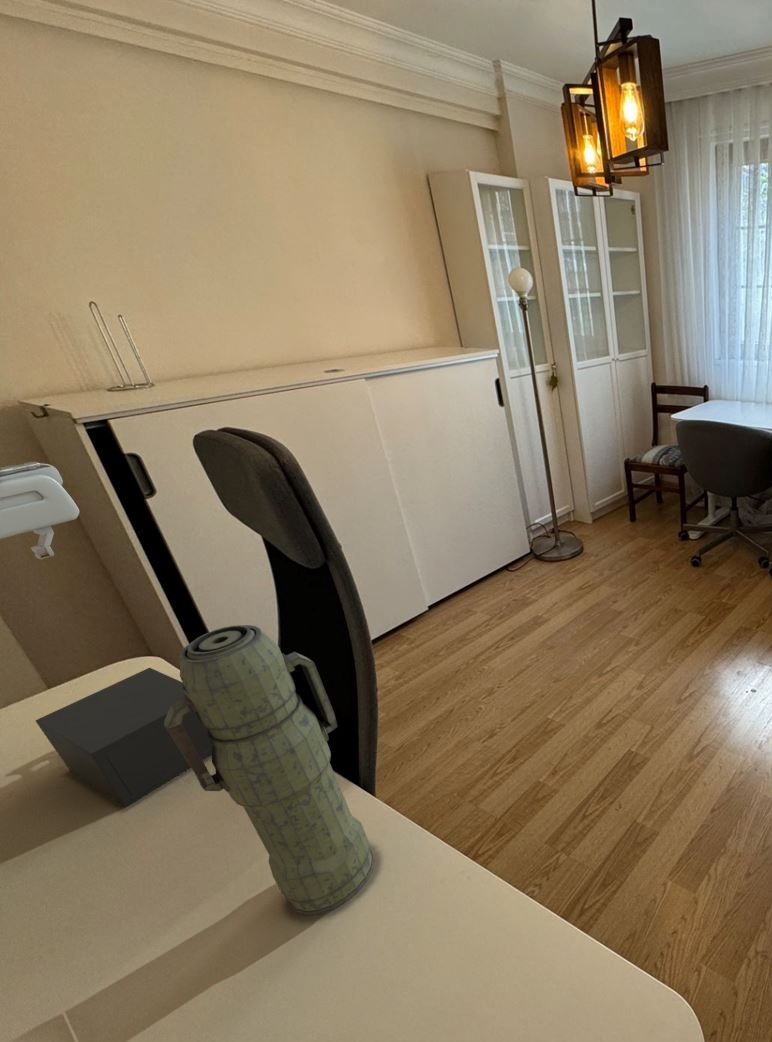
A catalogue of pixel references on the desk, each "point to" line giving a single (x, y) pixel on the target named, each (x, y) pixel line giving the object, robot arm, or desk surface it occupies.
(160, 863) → the desk surface
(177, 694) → the cabinet
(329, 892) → the thermos
